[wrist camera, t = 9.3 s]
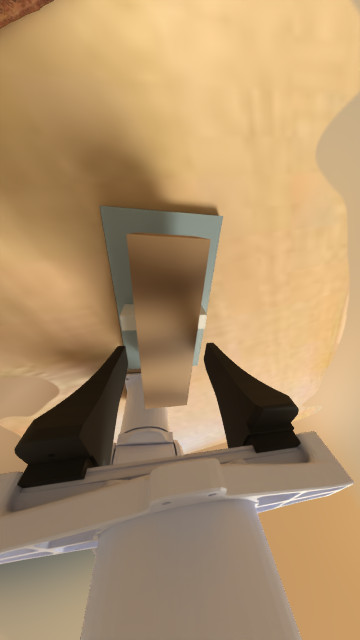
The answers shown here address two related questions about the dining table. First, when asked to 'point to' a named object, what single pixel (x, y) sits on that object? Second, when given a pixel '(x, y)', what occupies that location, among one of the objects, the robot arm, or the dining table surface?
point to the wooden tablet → (18, 9)
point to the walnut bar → (167, 311)
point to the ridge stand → (115, 231)
